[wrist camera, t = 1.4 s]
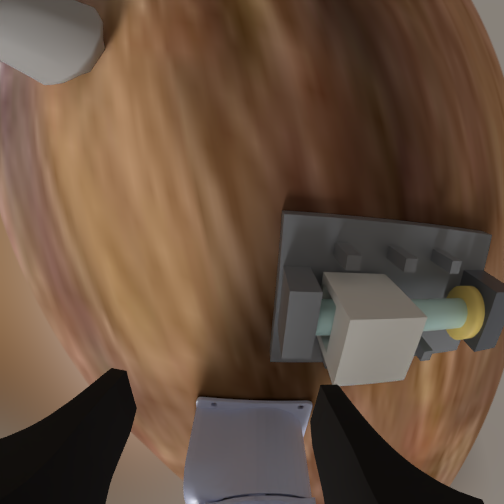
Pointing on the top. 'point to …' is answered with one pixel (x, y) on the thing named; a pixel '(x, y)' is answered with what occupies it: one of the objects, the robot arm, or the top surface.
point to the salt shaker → (50, 38)
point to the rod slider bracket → (379, 262)
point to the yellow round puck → (474, 312)
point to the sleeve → (369, 329)
